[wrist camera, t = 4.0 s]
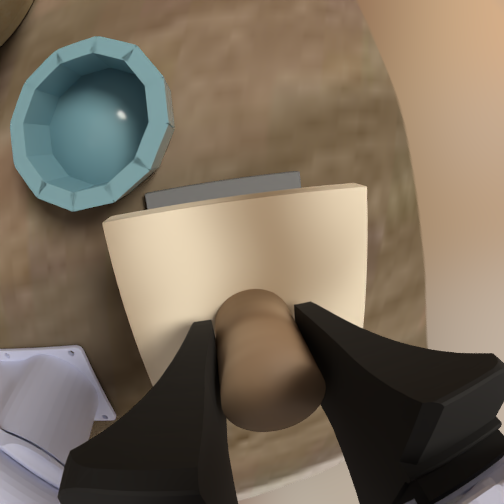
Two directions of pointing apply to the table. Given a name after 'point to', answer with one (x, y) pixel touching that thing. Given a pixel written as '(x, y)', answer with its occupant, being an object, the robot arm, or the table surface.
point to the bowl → (91, 124)
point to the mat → (223, 189)
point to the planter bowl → (12, 16)
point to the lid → (245, 288)
